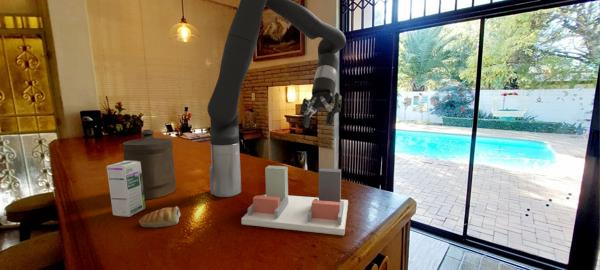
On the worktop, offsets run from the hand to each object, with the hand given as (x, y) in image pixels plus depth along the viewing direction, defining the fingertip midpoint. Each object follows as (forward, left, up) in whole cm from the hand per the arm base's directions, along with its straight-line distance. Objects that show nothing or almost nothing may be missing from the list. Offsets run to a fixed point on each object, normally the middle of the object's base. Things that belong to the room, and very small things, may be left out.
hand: (316, 125), depth 82 cm
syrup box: (-51, -23, -23) cm, 60 cm away
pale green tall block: (-11, -9, -22) cm, 26 cm away
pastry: (-36, -26, -24) cm, 51 cm away
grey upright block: (+5, -9, -22) cm, 24 cm away
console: (-3, -14, -23) cm, 27 cm away
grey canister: (-57, -8, -23) cm, 62 cm away
